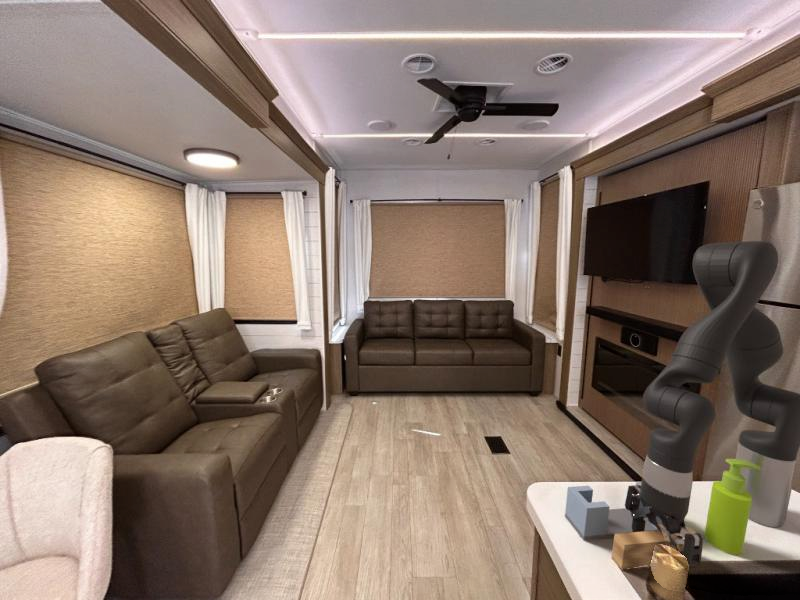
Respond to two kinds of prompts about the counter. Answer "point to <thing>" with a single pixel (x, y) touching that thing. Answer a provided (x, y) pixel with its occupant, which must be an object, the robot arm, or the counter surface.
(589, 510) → the end caps
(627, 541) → the slat
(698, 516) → the counter surface
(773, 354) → the robot arm
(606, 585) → the counter surface
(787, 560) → the counter surface
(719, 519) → the soap dispenser
